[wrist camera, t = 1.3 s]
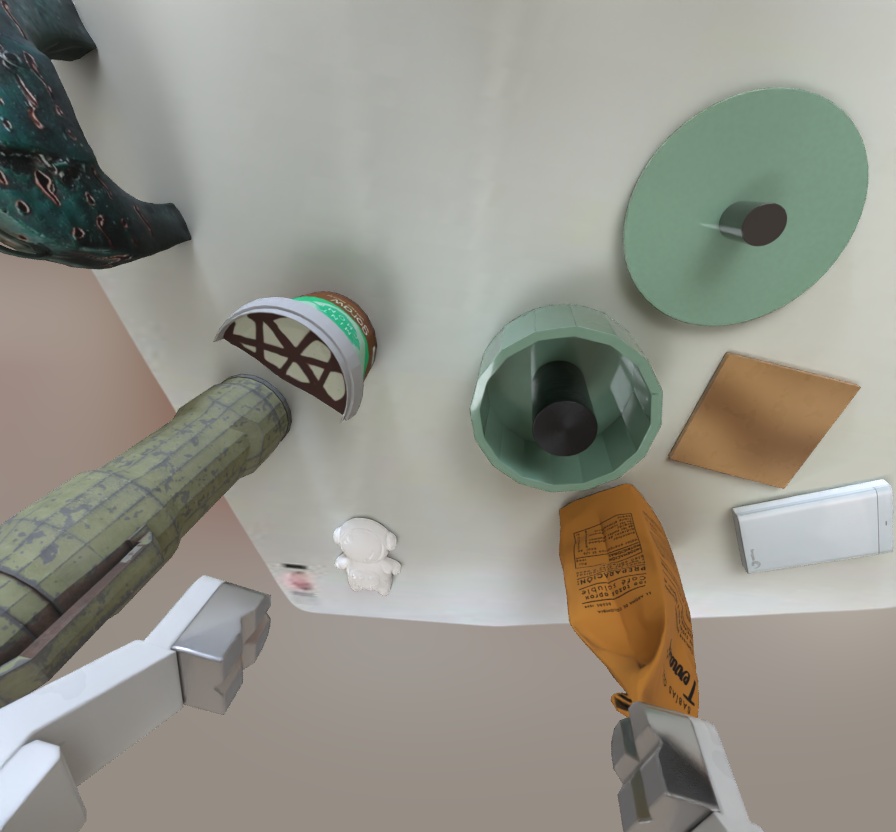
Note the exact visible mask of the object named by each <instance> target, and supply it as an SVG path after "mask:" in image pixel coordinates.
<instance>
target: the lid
mask: <svg viewBox="0 0 896 832" xmlns="http://www.w3.org/2000/svg"><path fill="white" fill-rule="evenodd" d="M867 187H868V162H867V156H866V150H865V147H864V144H863V141H862V138H861V136H860V134H859V132H858V130H857V129H856V127H855V125H854V123H853V122H852V121H851V120H850V118H849V117H848V116H847V115H846V114H845V113H844V111H842V110H841V109H840V108H839V107H837V106H836V105H835V104H834V103H832V102H831V101H829V100H827V99H825V98H823V97H821V96H820V95H817V94H814V93H811V92H808V91H805V90H800V89H793V88H764V89H758V90H752V91H748V92H745V93H741V94H738V95H735V96H732V97H730V98H727V99H725V100H723V101H720V102H718V103H716V104H714V105H712V106H710V107H708V108H707V109H705V110H703V111H701V112H700V113H698V114H697V115H695V116H694V117H692V118H691V119H690V120H688V121H687V122H686V123H684V124H683V125H682V126H681V127H680V128H678V129H677V130H676V131H675V132H674V133H673V134H672V135H671V136H670V137H669V138H668V139H667V140H666V141H665V142H664V143H663V144H662V145H661V147H660V148H659V149H658V150H657V151H656V152H655V154H654V155H653V157H652V158H651V159H650V161H649V162H648V164H647V165H646V167H645V168H644V170H643V172H642V174H641V175H640V177H639V179H638V181H637V183H636V185H635V187H634V190H633V192H632V194H631V197H630V200H629V204H628V207H627V210H626V216H625V221H624V229H623V247H624V256H625V260H626V265H627V268H628V271H629V273H630V276H631V278H632V280H633V282H634V284H635V285H636V287H637V289H638V290H639V291H640V293H641V294H642V295H643V296H644V298H645V299H646V300H647V301H649V302H650V303H651V304H652V305H653V306H654V307H655V308H657V309H658V310H660V311H661V312H663V313H664V314H666V315H668V316H670V317H672V318H674V319H677V320H680V321H683V322H686V323H691V324H696V325H705V326H720V325H730V324H736V323H742V322H745V321H749V320H752V319H756V318H758V317H761V316H763V315H766V314H768V313H771V312H773V311H775V310H777V309H779V308H780V307H782V306H784V305H786V304H788V303H789V302H791V301H792V300H794V299H795V298H797V297H798V296H800V295H801V294H802V293H804V292H805V291H806V290H807V289H809V288H810V287H811V286H812V285H813V284H815V283H816V282H817V281H818V280H819V279H820V278H821V277H822V276H823V275H824V274H825V273H826V272H827V271H828V269H829V268H830V267H831V266H832V265H833V264H834V262H835V261H836V260H837V259H838V257H839V256H840V254H841V253H842V251H843V250H844V249H845V247H846V246H847V244H848V242H849V240H850V238H851V236H852V235H853V233H854V231H855V229H856V226H857V224H858V222H859V219H860V217H861V214H862V210H863V207H864V203H865V200H866V194H867Z"/></svg>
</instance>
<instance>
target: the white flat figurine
mask: <svg viewBox="0 0 896 832" xmlns="http://www.w3.org/2000/svg"><path fill="white" fill-rule="evenodd" d="M333 539H334V541H335V543H336V544H340V547H341V549H342V551H343V552H344V553H343V554H341V555H340V556H339V557H338V558H337V560H336V561H335V567H336V568H338V569H346V572H347V575H348V581H349V585H350V587H351V589H352V590H353V591H359V590H361V589H366V590H374V591H375V590H377V591H378V593H380V594H381V595H382V596H387V595H388V594H389V592H390V589H391V582H392V576H391V573H392V574H393V575H396V574H399V573H400V572H401V565H400V563H399V562H397V561H396V560H393V559H391V558H389V557H387V554H388V553H389V550H390V551H392V550H394V549H395V547H396V543H397V539H396V536H395V535H394V534H393V533H391V532H389V531H388V530H387V529H386V528H385V527H384V526H382V525H381V524H379V523H378V522H375V521H373V520H370V519H367V518H353V519H350V520H348V521H346V522H345V523H344V524H343V525H342V526H341V527H339V528H337V529H336V530H335V532H334V534H333Z"/></svg>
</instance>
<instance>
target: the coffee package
mask: <svg viewBox="0 0 896 832" xmlns="http://www.w3.org/2000/svg"><path fill="white" fill-rule="evenodd" d="M559 515H560V526H561V529H560V546H559V556H560V560H561V564H562V568H563V572H564V580H565V587H566V593H567V604H568V615H569V622H570V624H571V626H572V628H573V629H574V631H575V632H576V633H577V635H578V636H579V637H580V638H581V639H582V641H583V642H584V643H585V644H586V645H587V646H588V647H589V648H590V649H591V651H592V652H593V653H594V654H595V655H596V656H597V657H598V658H599V659H600V660H601V661H602V663H603V664H604V665H605V666H606V667H607V669H608V670H609V672H610V673H611V674H612V676H613V677H614V678H615V679H616V681H617V682H618V683H619V684H620V686H621V687H622V688H623V689H624V690H625V691H626V693H627V694H624V693H616V694H614V695H612V697H611V702H612V703H613V705H614V706H615V708H616V710H617V711H618V712H620V713H621V714H623V715H625V716H626V717H630V715H629V710H628V708H629V707H630V706H631V705H632V703H633V702H637V701H640V702H644V703H648V704H651V705H655V706H659V707H663V708H666V709H670V710H674V711H677V712H681V713H683V714H685V715H689V716H693V717H697V718H698V708H699V692H698V678H697V674H696V664H695V658H694V648H693V634H692V626H691V617H690V611H689V607H688V604H687V601H686V598H685V594H684V591H683V587H682V583H681V579H680V576H679V572H678V568H677V565H676V562H675V559H674V556H673V553H672V550H671V548H670V545H669V543H668V540H667V537H666V535H665V532H664V530H663V528H662V525H661V523H660V521H659V520H658V518H657V517H656V515H655V513H654V512H653V510H652V509H651V507H650V506H649V505H648V503H647V502H646V501H645V499H644V498H643V496H642V495H641V494H640V493H639V491H638V490H637V489H636V488H635V487H634V486H633V485H631V484H622V485H619V486H617V487H614V488H611V489H607V490H604V491H601V492H598V493H596V494H593V495H590V496H588V497H585V498H582V499H578V500H576V501H573V502H571V503H570V504H569V505H567V506H565V507H563V508H561V509H560V511H559Z"/></svg>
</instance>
